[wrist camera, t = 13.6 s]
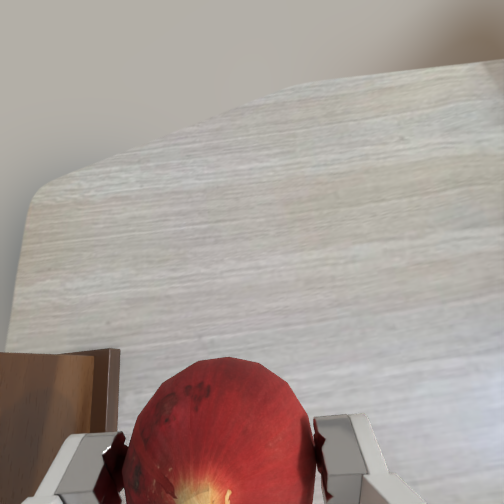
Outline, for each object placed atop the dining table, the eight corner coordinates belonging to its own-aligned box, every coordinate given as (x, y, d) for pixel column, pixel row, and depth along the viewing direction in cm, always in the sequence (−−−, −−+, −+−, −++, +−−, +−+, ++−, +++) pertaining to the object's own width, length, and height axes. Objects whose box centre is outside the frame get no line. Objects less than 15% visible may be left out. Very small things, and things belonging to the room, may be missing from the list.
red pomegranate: (154, 491, 13) (-21, 677, 5) (189, 348, 15) (96, 333, 7) (295, 529, 12) (326, 810, 4) (313, 372, 14) (356, 384, 6)
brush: (48, 560, 24) (-420, 978, 8) (67, 355, 29) (-187, 345, 13) (112, 553, 23) (-223, 962, 7) (120, 349, 29) (-69, 331, 13)
